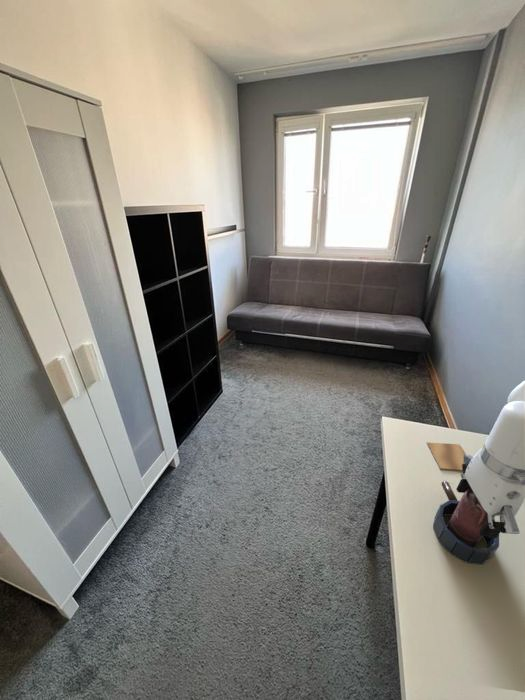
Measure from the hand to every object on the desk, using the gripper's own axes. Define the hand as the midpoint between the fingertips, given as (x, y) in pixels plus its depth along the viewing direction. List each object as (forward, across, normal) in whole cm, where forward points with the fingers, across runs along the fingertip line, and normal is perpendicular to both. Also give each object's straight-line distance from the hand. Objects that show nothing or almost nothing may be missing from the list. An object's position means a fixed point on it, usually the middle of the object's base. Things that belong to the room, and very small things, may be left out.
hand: (474, 511), depth 62 cm
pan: (+10, +3, 0) cm, 10 cm away
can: (+10, 0, 0) cm, 10 cm away
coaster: (+10, +24, -8) cm, 27 cm away
